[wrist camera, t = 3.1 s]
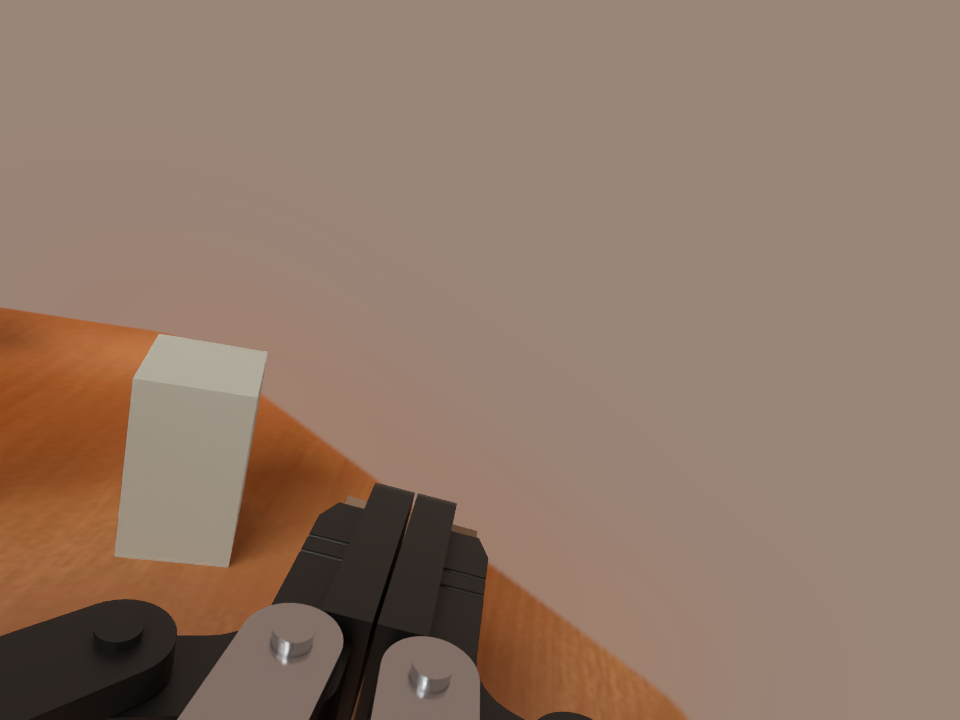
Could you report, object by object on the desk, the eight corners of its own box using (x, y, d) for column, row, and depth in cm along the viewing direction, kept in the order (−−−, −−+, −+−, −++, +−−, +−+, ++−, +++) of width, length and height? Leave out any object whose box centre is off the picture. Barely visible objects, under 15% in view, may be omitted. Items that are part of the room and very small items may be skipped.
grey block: (114, 556, 37) (132, 378, 34) (140, 494, 42) (159, 333, 39) (228, 567, 39) (257, 397, 35) (240, 506, 44) (267, 352, 40)
